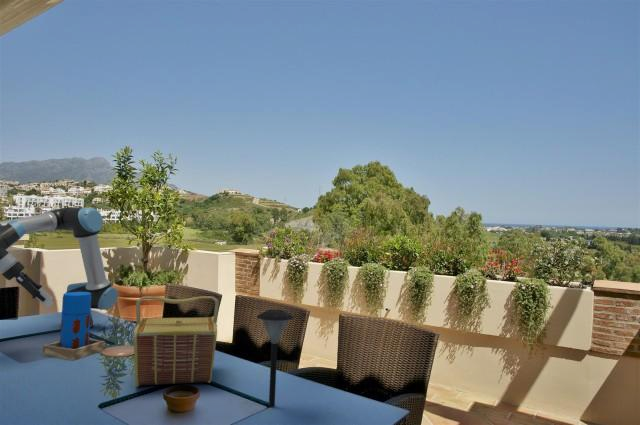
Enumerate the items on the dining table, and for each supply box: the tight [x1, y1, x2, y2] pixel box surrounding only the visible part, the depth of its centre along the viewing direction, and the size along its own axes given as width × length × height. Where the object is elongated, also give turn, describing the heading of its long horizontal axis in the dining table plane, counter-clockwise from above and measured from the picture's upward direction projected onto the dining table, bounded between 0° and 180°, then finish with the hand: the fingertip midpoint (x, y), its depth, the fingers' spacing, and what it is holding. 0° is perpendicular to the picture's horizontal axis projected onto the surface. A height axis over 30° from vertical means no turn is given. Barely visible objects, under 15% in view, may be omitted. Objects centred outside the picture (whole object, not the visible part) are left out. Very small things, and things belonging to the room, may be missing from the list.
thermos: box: [59, 292, 92, 349], centre depth 197 cm, size 11×11×25 cm
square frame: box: [42, 338, 106, 361], centre depth 197 cm, size 16×16×4 cm
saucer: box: [101, 345, 134, 358], centre depth 201 cm, size 16×16×1 cm
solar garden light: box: [256, 309, 295, 408], centre depth 148 cm, size 12×12×30 cm
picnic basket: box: [133, 295, 220, 388], centre depth 170 cm, size 29×26×30 cm
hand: (50, 303), depth 192 cm, fingers open, 13 cm apart
